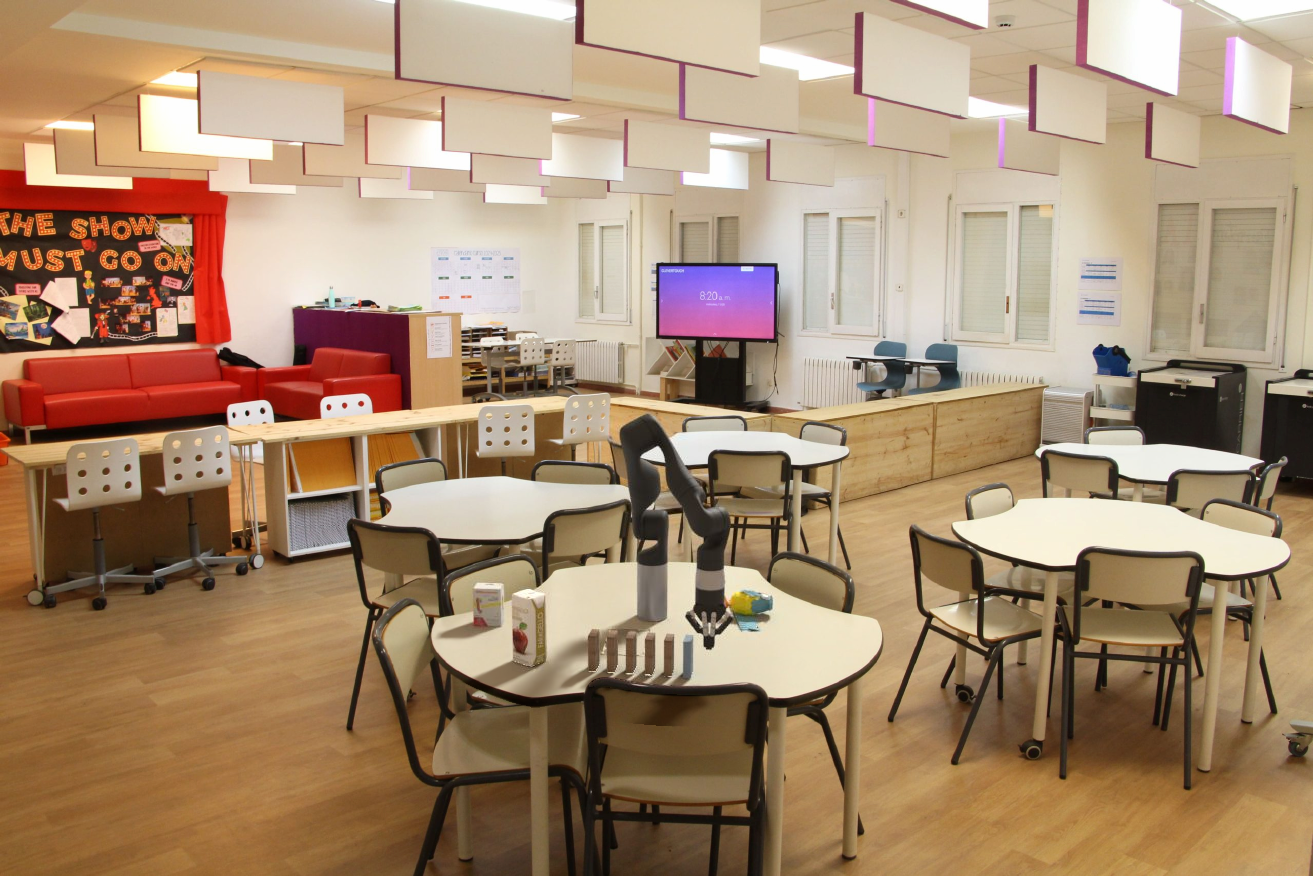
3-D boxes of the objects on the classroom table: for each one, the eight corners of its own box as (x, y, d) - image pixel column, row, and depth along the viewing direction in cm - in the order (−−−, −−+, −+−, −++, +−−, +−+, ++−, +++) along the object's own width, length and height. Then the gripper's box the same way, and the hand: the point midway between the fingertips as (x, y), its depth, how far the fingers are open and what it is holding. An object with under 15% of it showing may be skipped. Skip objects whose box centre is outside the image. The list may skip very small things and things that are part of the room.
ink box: (472, 626, 291) (471, 587, 289) (476, 620, 296) (475, 582, 294) (501, 627, 290) (500, 588, 288) (504, 621, 295) (504, 583, 293)
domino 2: (610, 666, 262) (610, 630, 260) (618, 666, 262) (617, 630, 260) (606, 673, 257) (606, 636, 255) (614, 673, 257) (614, 637, 255)
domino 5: (666, 669, 260) (666, 633, 258) (673, 670, 259) (674, 634, 258) (663, 677, 255) (663, 640, 253) (671, 677, 255) (671, 640, 253)
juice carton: (529, 653, 270) (528, 586, 267) (551, 661, 265) (550, 593, 262) (508, 661, 265) (507, 593, 261) (530, 669, 259) (529, 600, 256)
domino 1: (592, 664, 263) (592, 629, 261) (599, 665, 262) (599, 629, 261) (588, 672, 258) (587, 635, 256) (595, 672, 258) (595, 636, 256)
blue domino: (685, 670, 259) (685, 634, 257) (692, 671, 259) (693, 635, 257) (682, 678, 254) (683, 641, 252) (690, 679, 254) (691, 642, 252)
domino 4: (647, 668, 260) (647, 632, 259) (655, 668, 260) (655, 632, 259) (644, 676, 256) (644, 639, 254) (652, 676, 255) (652, 639, 254)
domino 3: (629, 667, 261) (629, 631, 260) (636, 667, 261) (636, 631, 259) (625, 674, 256) (625, 638, 255) (633, 675, 256) (633, 638, 254)
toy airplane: (717, 575, 313) (763, 575, 315) (715, 601, 315) (762, 601, 316) (730, 605, 286) (782, 605, 287) (729, 633, 287) (780, 633, 289)
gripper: (682, 587, 249) (681, 652, 252) (734, 590, 247) (733, 655, 250) (686, 578, 256) (685, 642, 259) (736, 581, 254) (735, 645, 257)
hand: (709, 648), depth 255 cm, fingers closed
